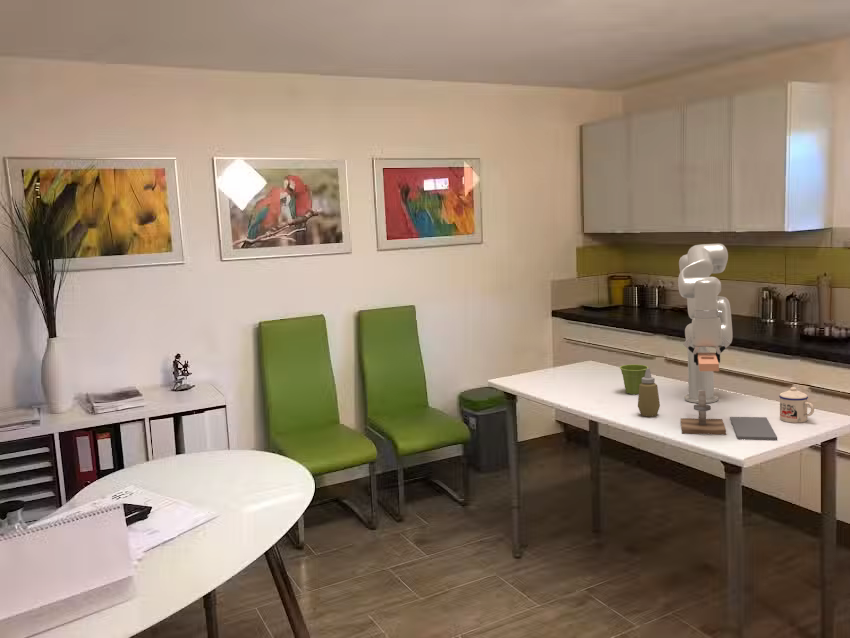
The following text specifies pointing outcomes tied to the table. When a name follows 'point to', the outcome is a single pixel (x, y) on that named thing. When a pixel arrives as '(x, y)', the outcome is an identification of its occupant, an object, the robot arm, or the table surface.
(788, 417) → the teacup with lid
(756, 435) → the mat
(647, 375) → the squeeze bottle
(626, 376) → the plant pot
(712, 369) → the link
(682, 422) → the stand
